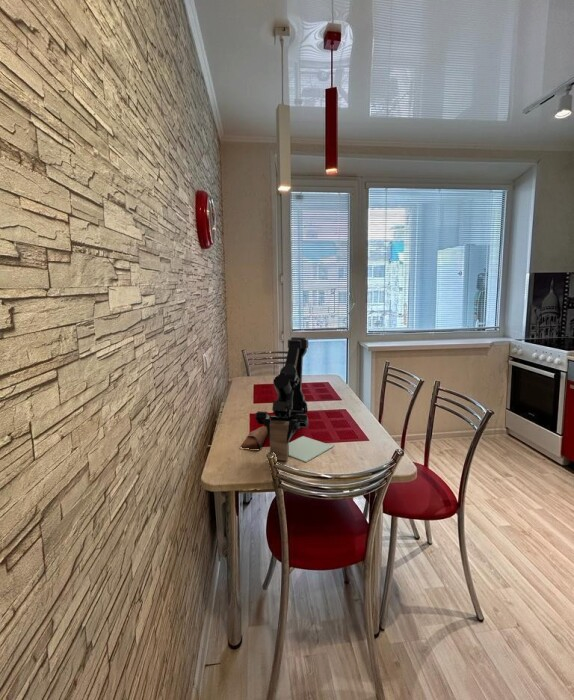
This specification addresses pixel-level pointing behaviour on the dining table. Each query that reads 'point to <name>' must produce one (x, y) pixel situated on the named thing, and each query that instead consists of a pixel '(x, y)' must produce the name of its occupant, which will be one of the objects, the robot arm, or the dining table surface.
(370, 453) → the dining table surface
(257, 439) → the sunglasses case
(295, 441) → the mat
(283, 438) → the brown wooden block
